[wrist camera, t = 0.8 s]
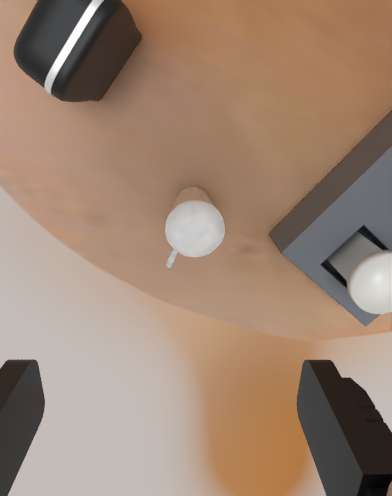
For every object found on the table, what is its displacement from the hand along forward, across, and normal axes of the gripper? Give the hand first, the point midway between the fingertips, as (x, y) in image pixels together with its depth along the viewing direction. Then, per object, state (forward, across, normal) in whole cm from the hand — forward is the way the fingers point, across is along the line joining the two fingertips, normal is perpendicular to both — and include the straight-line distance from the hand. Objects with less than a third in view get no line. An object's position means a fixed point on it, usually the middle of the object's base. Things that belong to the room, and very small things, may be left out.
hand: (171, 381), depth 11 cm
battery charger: (+25, +7, -12) cm, 29 cm away
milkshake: (+25, -1, +1) cm, 25 cm away
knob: (+22, -16, +5) cm, 27 cm away
